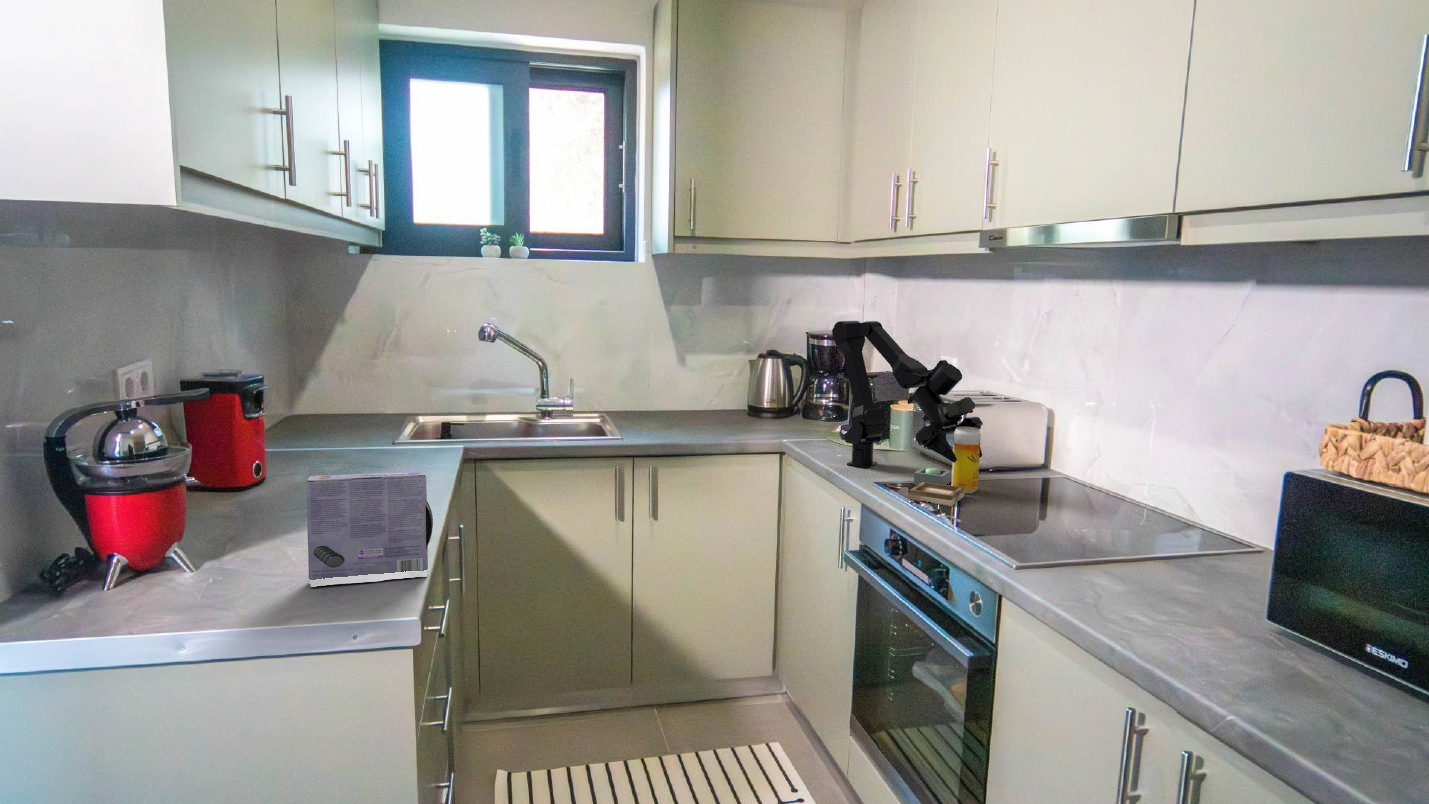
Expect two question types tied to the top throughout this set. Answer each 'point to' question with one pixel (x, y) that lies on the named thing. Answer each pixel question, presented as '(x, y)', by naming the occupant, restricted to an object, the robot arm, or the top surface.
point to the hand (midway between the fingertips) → (968, 459)
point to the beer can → (966, 458)
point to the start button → (933, 471)
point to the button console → (932, 477)
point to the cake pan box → (367, 524)
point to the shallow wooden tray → (936, 493)
